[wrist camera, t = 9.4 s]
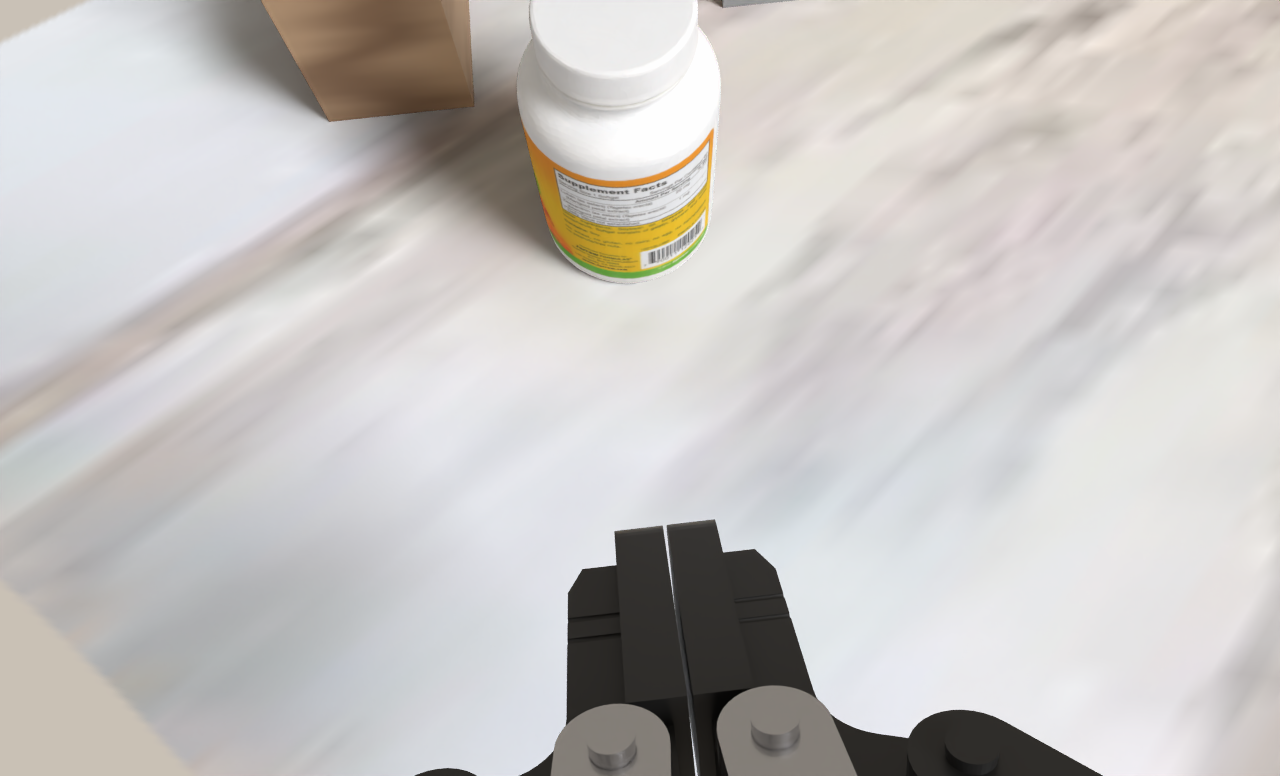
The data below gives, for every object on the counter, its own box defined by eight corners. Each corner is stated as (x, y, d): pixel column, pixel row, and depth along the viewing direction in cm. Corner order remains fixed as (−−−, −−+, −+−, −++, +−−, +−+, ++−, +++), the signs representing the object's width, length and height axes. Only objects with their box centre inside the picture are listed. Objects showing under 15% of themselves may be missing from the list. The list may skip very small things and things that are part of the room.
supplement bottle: (570, 130, 33) (531, -103, 24) (726, 159, 32) (748, -68, 23) (528, 270, 31) (468, 78, 22) (692, 303, 31) (701, 120, 22)
